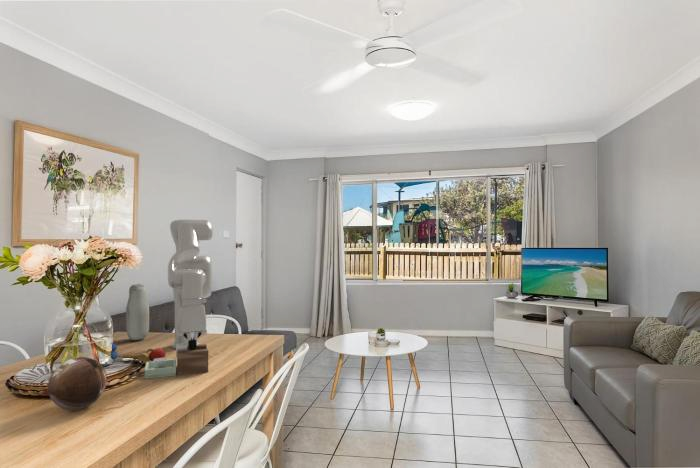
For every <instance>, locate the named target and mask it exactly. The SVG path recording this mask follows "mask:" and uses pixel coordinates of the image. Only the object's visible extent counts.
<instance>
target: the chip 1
mask: <svg viewBox="0 0 700 468" xmlns="http://www.w3.org/2000/svg"><path fill="white" fill-rule="evenodd" d="M166 360H167V359H166V356H165V357H164V358H156V359H154V369H158V368H166Z"/></svg>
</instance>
